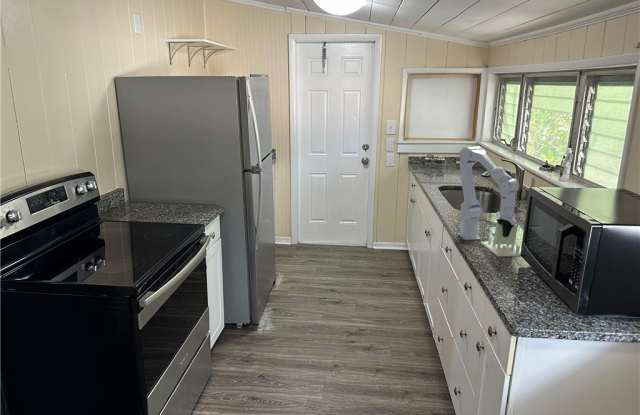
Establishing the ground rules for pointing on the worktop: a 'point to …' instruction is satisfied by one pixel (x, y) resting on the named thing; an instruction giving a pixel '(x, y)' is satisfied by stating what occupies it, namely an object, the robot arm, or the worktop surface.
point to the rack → (502, 248)
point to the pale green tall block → (504, 240)
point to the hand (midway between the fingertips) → (504, 235)
